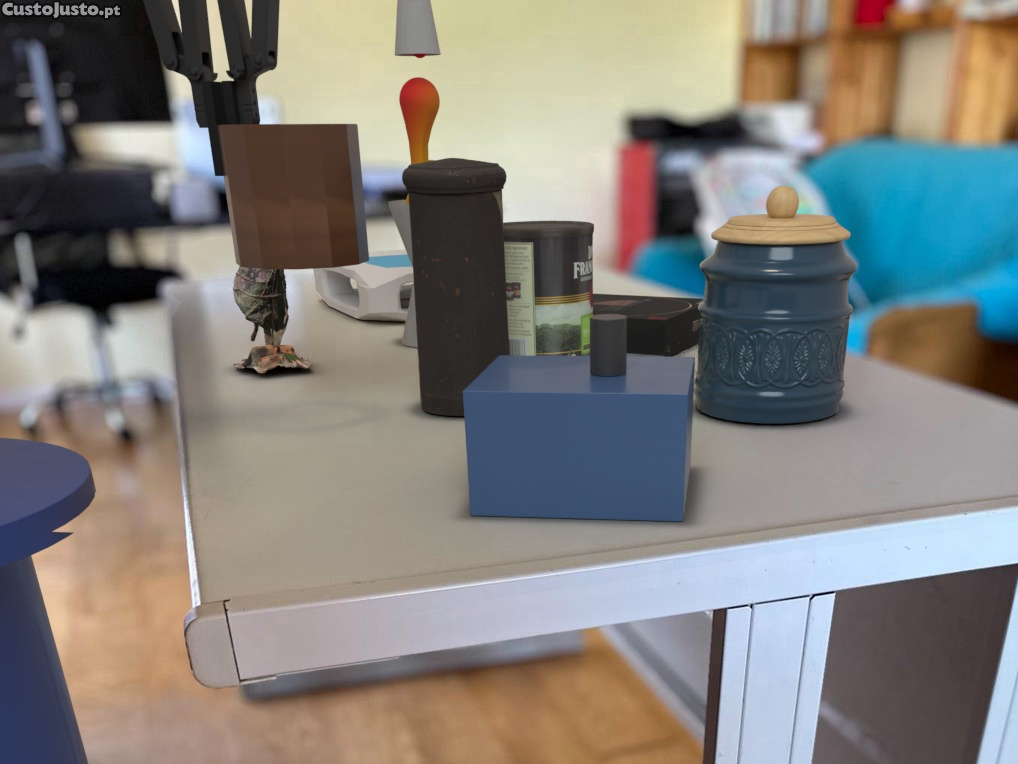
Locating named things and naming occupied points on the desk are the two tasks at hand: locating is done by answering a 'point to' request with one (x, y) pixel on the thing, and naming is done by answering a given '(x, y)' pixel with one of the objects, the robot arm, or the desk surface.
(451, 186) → the container
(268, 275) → the plant with pod
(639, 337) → the portable cd player
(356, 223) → the brown pot
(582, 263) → the coffee can
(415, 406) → the desk surface
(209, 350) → the desk surface
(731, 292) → the canister
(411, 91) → the lava lamp
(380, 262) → the white boxy piece
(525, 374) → the peg box
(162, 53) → the robot arm
